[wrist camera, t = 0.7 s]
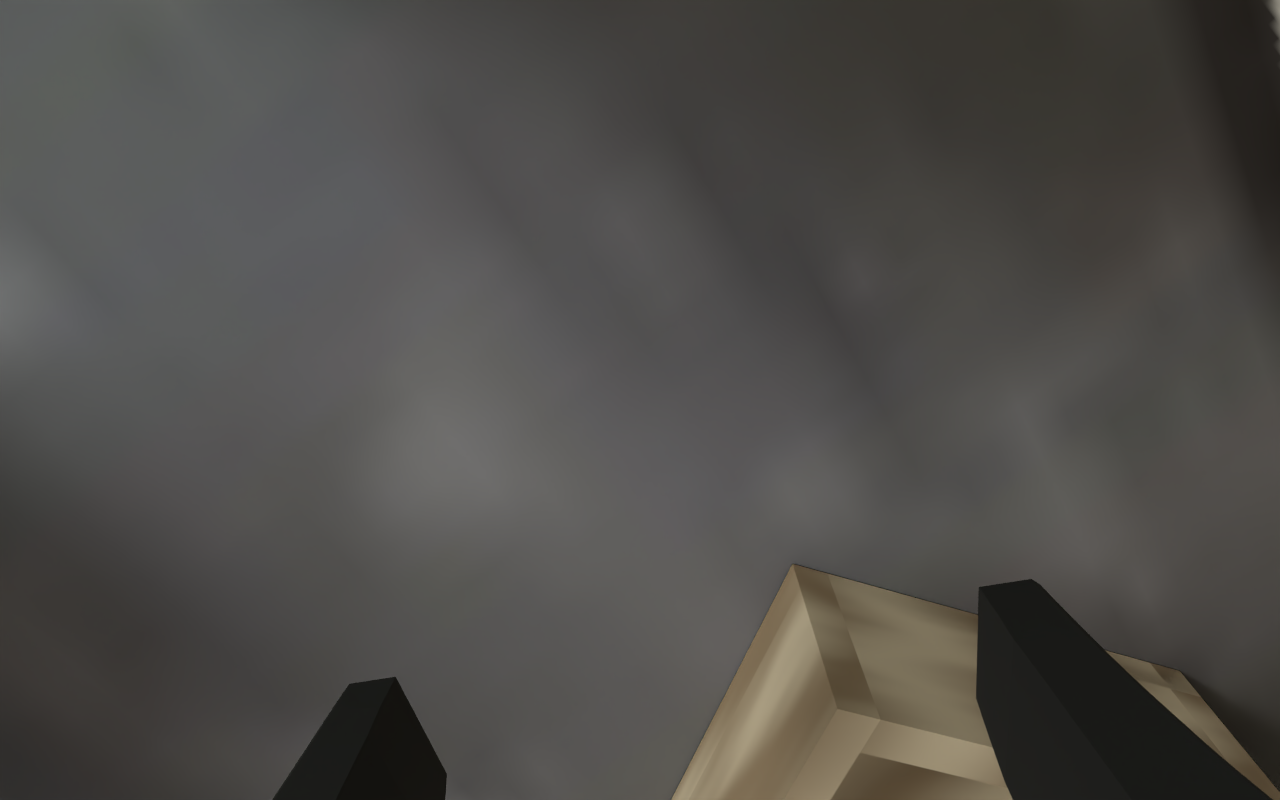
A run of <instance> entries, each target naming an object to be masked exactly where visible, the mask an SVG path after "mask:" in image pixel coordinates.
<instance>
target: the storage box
mask: <svg viewBox="0 0 1280 800" xmlns="http://www.w3.org/2000/svg"><path fill="white" fill-rule="evenodd" d="M977 638H978V615H976V614H972V613H968V612H965V611H961V610H958V609H954V608H950V607H947V606H943V605H939V604H936V603H932V602H929V601H925V600H921V599H918V598H914V597H911V596H907V595H903V594H900V593H896V592H893V591H889V590H885V589H882V588H878V587H874V586H871V585H867V584H864V583H860V582H856V581H853V580H849V579H846V578H842V577H838V576H835V575H831V574H828V573H824V572H820V571H817V570H813V569H809V568H806V567H802V566H799V565H795V564H792V566H791V568H790V570H789V572H788V574H787V576H786V578H785V579H784V581H783V583H782V585H781V587H780V589H779V591H778V593H777V595H776V597H775V599H774V601H773V603H772V605H771V607H770V609H769V611H768V613H767V614H766V616H765V618H764V620H763V622H762V624H761V626H760V628H759V630H758V632H757V634H756V636H755V638H754V640H753V642H752V644H751V646H750V648H749V650H748V651H747V653H746V655H745V657H744V659H743V661H742V663H741V665H740V667H739V669H738V671H737V673H736V675H735V677H734V679H733V681H732V683H731V685H730V686H729V688H728V690H727V692H726V694H725V696H724V698H723V700H722V702H721V704H720V706H719V708H718V710H717V712H716V714H715V716H714V718H713V720H712V722H711V723H710V725H709V727H708V729H707V731H706V733H705V735H704V737H703V739H702V741H701V743H700V745H699V747H698V749H697V751H696V753H695V755H694V757H693V758H692V760H691V762H690V764H689V766H688V768H687V770H686V772H685V774H684V776H683V778H682V780H681V782H680V784H679V786H678V788H677V790H676V792H675V794H674V795H673V797H672V799H671V800H1013V799H1012V797H1011V795H1010V792H1009V790H1008V788H1007V786H1006V784H1005V781H1004V778H1003V776H1002V773H1001V770H1000V767H999V764H998V761H997V759H996V756H995V753H994V750H993V747H992V744H991V742H990V739H989V736H988V733H987V730H986V727H985V724H984V721H983V718H982V715H981V712H980V709H979V706H978V703H977V700H976V675H977ZM1105 651H1106V650H1105ZM1106 652H1107V653H1108V654H1109V655H1110V656H1111V657H1112V658H1114V659H1115V660H1116V661H1117V662H1118V663H1119V664H1120V665H1121V666H1122V667H1123V668H1124V669H1125V670H1126V671H1127V672H1128V673H1129V674H1130V675H1131V676H1132V677H1133V678H1134V679H1135V680H1137V681H1138V682H1139V683H1140V684H1141V685H1142V686H1143V687H1144V688H1145V689H1146V690H1147V691H1148V692H1149V693H1150V694H1152V695H1153V696H1154V697H1155V698H1156V699H1157V700H1158V701H1159V702H1160V703H1162V704H1163V705H1164V706H1165V707H1166V708H1167V709H1168V710H1169V711H1170V712H1172V713H1173V714H1174V715H1175V716H1176V717H1177V718H1178V719H1179V720H1180V721H1182V722H1183V723H1184V724H1185V725H1186V726H1187V727H1188V728H1189V729H1191V730H1192V731H1193V732H1194V733H1195V734H1196V735H1197V736H1198V737H1199V738H1201V739H1202V740H1203V741H1204V742H1205V743H1206V744H1207V745H1209V746H1210V747H1211V748H1212V749H1213V750H1214V751H1215V752H1217V753H1218V754H1219V755H1220V756H1221V757H1222V758H1224V759H1225V760H1226V761H1227V762H1228V763H1229V764H1231V765H1232V766H1233V767H1234V768H1235V769H1236V770H1238V771H1239V772H1240V773H1241V774H1242V775H1244V776H1245V777H1246V778H1247V779H1249V780H1250V781H1251V782H1252V783H1253V784H1255V785H1256V786H1257V787H1258V788H1259V789H1261V790H1262V791H1263V792H1264V793H1266V794H1267V795H1268V796H1269V797H1270V798H1272V799H1273V800H1280V792H1279V791H1278V790H1277V789H1276V787H1275V786H1274V785H1273V784H1272V783H1271V781H1270V780H1269V779H1268V778H1267V777H1266V775H1265V774H1264V773H1263V772H1262V770H1261V769H1260V768H1259V767H1258V766H1257V764H1256V763H1255V762H1254V761H1253V760H1252V758H1251V757H1250V756H1249V755H1248V753H1247V752H1246V751H1245V750H1244V749H1243V747H1242V746H1241V745H1240V744H1239V743H1238V741H1237V740H1236V739H1235V738H1234V736H1233V735H1232V734H1231V733H1230V732H1229V730H1228V729H1227V728H1226V727H1225V725H1224V724H1223V723H1222V722H1221V721H1220V719H1219V718H1218V717H1217V716H1216V715H1215V713H1214V712H1213V711H1212V710H1211V708H1210V707H1209V706H1208V705H1207V704H1206V702H1205V701H1204V700H1203V699H1202V698H1201V696H1200V695H1199V694H1198V693H1197V691H1196V690H1195V689H1194V688H1193V687H1192V685H1191V684H1190V683H1189V682H1188V681H1187V679H1186V678H1185V677H1184V676H1183V674H1182V673H1181V672H1180V671H1178V670H1174V669H1171V668H1167V667H1163V666H1160V665H1156V664H1153V663H1149V662H1145V661H1142V660H1138V659H1135V658H1131V657H1127V656H1124V655H1120V654H1116V653H1113V652H1109V651H1106Z"/></svg>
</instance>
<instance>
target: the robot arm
mask: <svg viewBox="0 0 1280 800" xmlns="http://www.w3.org/2000/svg"><path fill="white" fill-rule="evenodd" d="M976 700H977V703H978V706H979V709H980V712H981V715H982V718H983V721H984V724H985V727H986V730H987V733H988V736H989V739H990V742H991V744H992V747H993V750H994V753H995V756H996V759H997V761H998V764H999V767H1000V770H1001V773H1002V776H1003V778H1004V781H1005V784H1006V786H1007V788H1008V790H1009V792H1010V795H1011V797H1012V799H1013V800H1273V799H1272V798H1270V797H1269V796H1268V795H1267V794H1266V793H1264V792H1263V791H1262V790H1261V789H1259V788H1258V787H1257V786H1256V785H1255V784H1253V783H1252V782H1251V781H1250V780H1249V779H1247V778H1246V777H1245V776H1244V775H1242V774H1241V773H1240V772H1239V771H1238V770H1236V769H1235V768H1234V767H1233V766H1232V765H1231V764H1229V763H1228V762H1227V761H1226V760H1225V759H1224V758H1222V757H1221V756H1220V755H1219V754H1218V753H1217V752H1215V751H1214V750H1213V749H1212V748H1211V747H1210V746H1209V745H1207V744H1206V743H1205V742H1204V741H1203V740H1202V739H1201V738H1199V737H1198V736H1197V735H1196V734H1195V733H1194V732H1193V731H1192V730H1191V729H1189V728H1188V727H1187V726H1186V725H1185V724H1184V723H1183V722H1182V721H1180V720H1179V719H1178V718H1177V717H1176V716H1175V715H1174V714H1173V713H1172V712H1170V711H1169V710H1168V709H1167V708H1166V707H1165V706H1164V705H1163V704H1162V703H1160V702H1159V701H1158V700H1157V699H1156V698H1155V697H1154V696H1153V695H1152V694H1150V693H1149V692H1148V691H1147V690H1146V689H1145V688H1144V687H1143V686H1142V685H1141V684H1140V683H1139V682H1138V681H1137V680H1135V679H1134V678H1133V677H1132V676H1131V675H1130V674H1129V673H1128V672H1127V671H1126V670H1125V669H1124V668H1123V667H1122V666H1121V665H1120V664H1119V663H1118V662H1117V661H1116V660H1115V659H1114V658H1112V657H1111V656H1110V655H1109V654H1108V653H1107V652H1106V651H1105V650H1104V649H1103V648H1102V647H1101V646H1100V645H1099V644H1098V643H1097V642H1096V641H1095V640H1094V639H1093V638H1092V637H1091V636H1090V635H1089V634H1088V633H1087V632H1086V631H1085V630H1084V629H1083V628H1082V627H1081V626H1080V625H1079V624H1078V623H1077V622H1076V621H1075V620H1074V619H1073V618H1072V617H1071V616H1070V615H1069V614H1068V613H1067V612H1066V611H1065V610H1064V609H1063V608H1062V607H1061V606H1060V605H1059V604H1058V603H1057V602H1056V601H1055V600H1054V599H1053V598H1052V597H1051V596H1050V595H1049V593H1048V592H1047V591H1046V590H1045V589H1044V588H1043V587H1042V586H1041V585H1040V584H1038V583H1037V582H1035V581H1034V580H1032V579H1029V580H1022V581H1016V582H1009V583H1003V584H996V585H990V586H983V587H979V601H978V638H977V675H976ZM446 778H447V773H446V772H445V770H444V768H443V766H442V764H441V762H440V760H439V758H438V756H437V754H436V753H435V751H434V749H433V747H432V745H431V743H430V741H429V739H428V737H427V736H426V734H425V732H424V730H423V728H422V726H421V724H420V722H419V720H418V718H417V717H416V715H415V713H414V711H413V709H412V707H411V705H410V703H409V701H408V699H407V698H406V696H405V694H404V692H403V690H402V688H401V686H400V684H399V682H398V680H397V679H396V677H392V678H385V679H379V680H372V681H366V682H359V683H353V684H349V685H348V687H347V688H346V690H345V691H344V692H343V694H342V695H341V697H340V698H339V700H338V701H337V703H336V704H335V706H334V707H333V709H332V710H331V712H330V713H329V715H328V716H327V718H326V719H325V721H324V722H323V724H322V725H321V727H320V728H319V730H318V731H317V733H316V734H315V736H314V738H313V739H312V741H311V742H310V744H309V745H308V747H307V748H306V750H305V751H304V753H303V754H302V756H301V757H300V759H299V760H298V762H297V764H296V765H295V767H294V768H293V770H292V771H291V773H290V774H289V776H288V777H287V779H286V780H285V782H284V783H283V785H282V786H281V788H280V789H279V791H278V792H277V794H276V795H275V797H274V798H273V800H445V794H446Z"/></svg>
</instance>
